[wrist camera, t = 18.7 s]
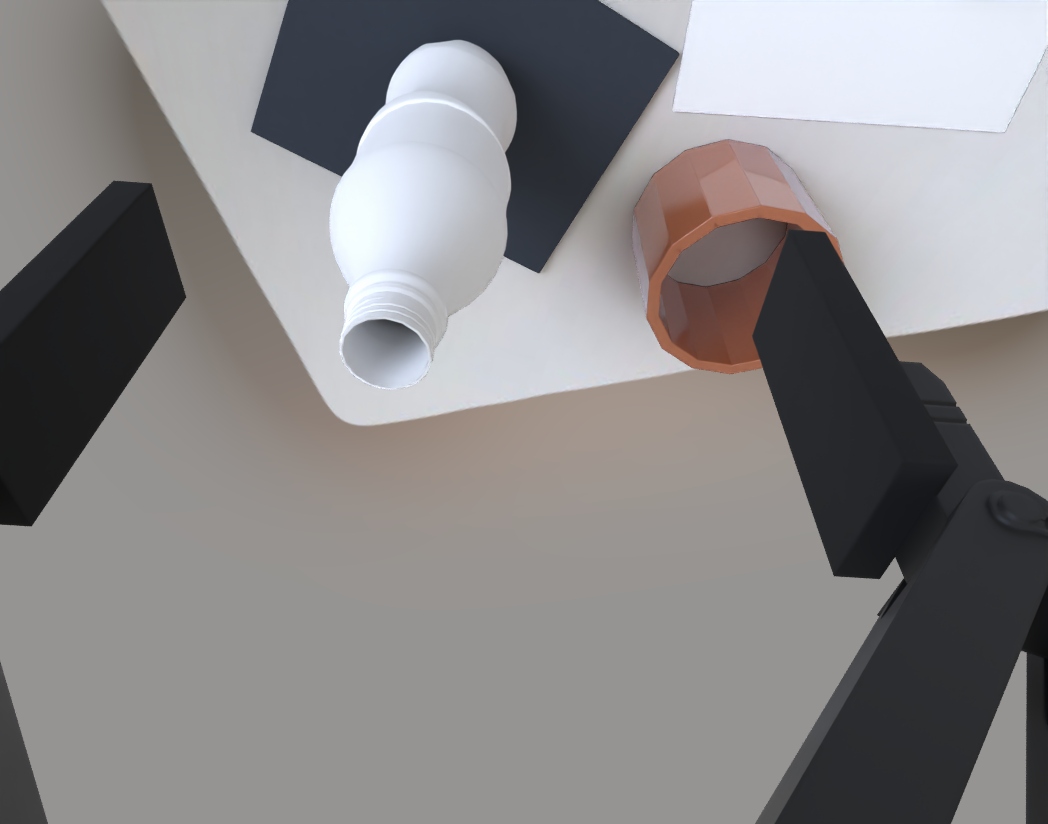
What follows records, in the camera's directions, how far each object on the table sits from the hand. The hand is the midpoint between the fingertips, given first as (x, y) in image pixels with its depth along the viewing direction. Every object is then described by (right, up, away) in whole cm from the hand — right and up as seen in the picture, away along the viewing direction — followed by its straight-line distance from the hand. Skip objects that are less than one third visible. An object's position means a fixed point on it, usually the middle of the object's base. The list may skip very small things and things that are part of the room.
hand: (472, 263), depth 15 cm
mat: (-3, +15, +27) cm, 31 cm away
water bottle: (-3, +15, +26) cm, 31 cm away
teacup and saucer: (+20, +22, +21) cm, 36 cm away
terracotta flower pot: (+14, +9, +32) cm, 36 cm away
